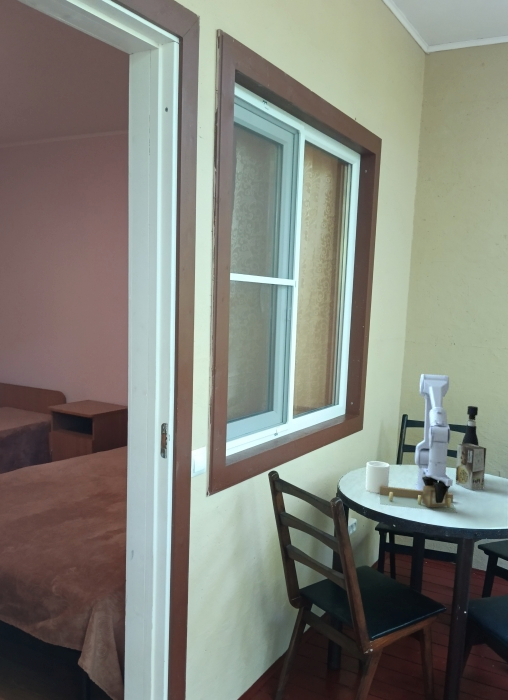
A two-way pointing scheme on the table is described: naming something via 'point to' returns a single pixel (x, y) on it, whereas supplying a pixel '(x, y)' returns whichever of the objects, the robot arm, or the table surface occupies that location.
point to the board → (410, 499)
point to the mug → (376, 476)
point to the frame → (432, 497)
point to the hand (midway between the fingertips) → (434, 500)
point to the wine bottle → (471, 427)
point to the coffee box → (470, 466)
